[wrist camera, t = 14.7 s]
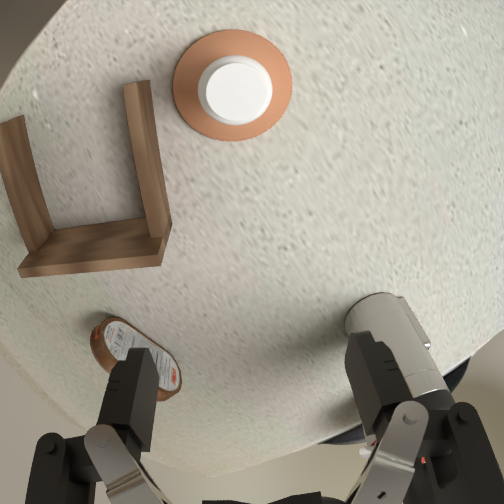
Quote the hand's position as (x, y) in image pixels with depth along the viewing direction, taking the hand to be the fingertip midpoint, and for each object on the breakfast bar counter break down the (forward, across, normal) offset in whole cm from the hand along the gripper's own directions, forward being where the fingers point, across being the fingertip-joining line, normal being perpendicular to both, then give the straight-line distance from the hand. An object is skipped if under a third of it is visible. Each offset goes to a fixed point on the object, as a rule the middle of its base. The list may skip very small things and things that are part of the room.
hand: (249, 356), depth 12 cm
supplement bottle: (+22, 0, -9) cm, 24 cm away
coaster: (+23, 0, -9) cm, 25 cm away
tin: (+24, +16, +23) cm, 37 cm away
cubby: (+23, +16, -3) cm, 28 cm away
